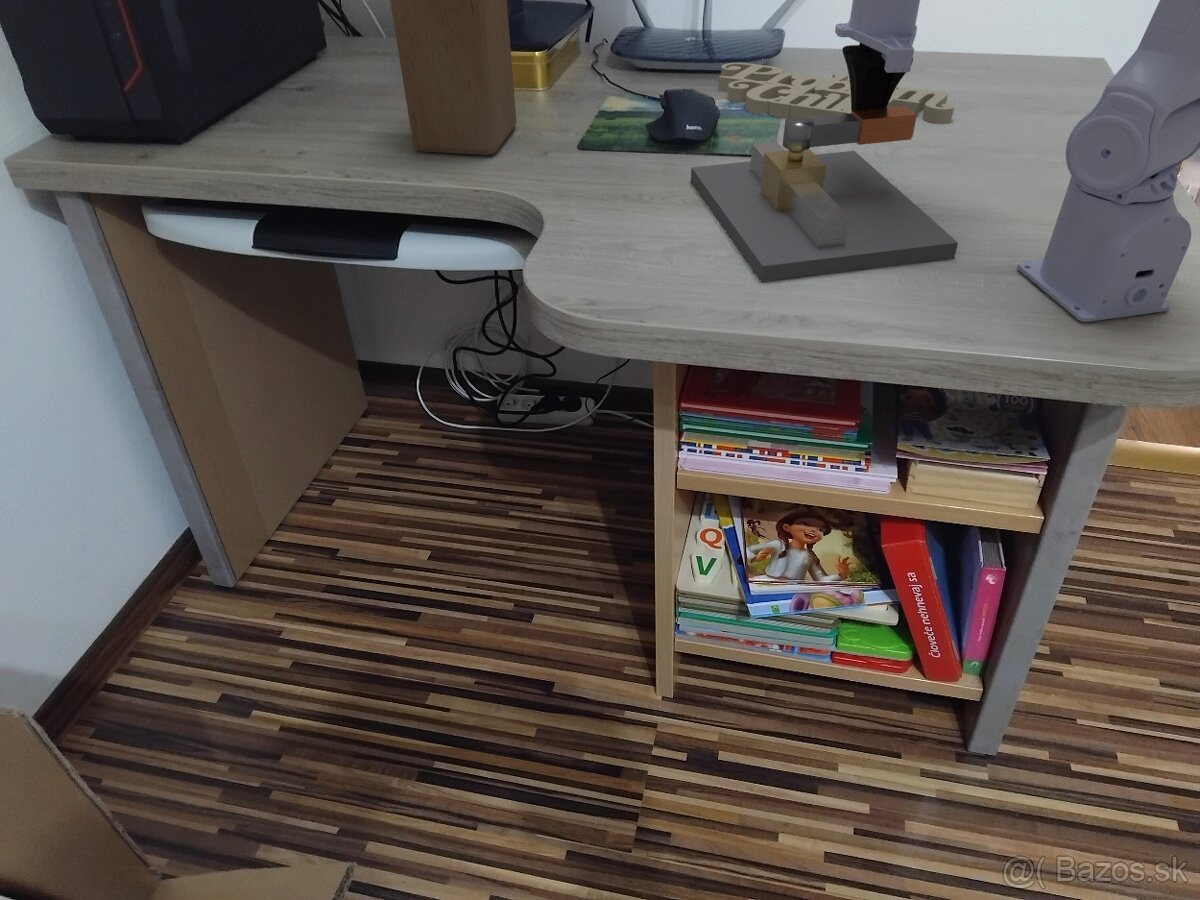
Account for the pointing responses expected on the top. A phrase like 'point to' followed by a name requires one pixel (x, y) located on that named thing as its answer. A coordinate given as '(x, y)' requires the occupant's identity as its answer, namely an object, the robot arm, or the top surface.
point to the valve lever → (849, 128)
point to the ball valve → (800, 192)
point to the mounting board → (782, 250)
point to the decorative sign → (815, 94)
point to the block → (456, 73)
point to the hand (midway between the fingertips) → (864, 128)
